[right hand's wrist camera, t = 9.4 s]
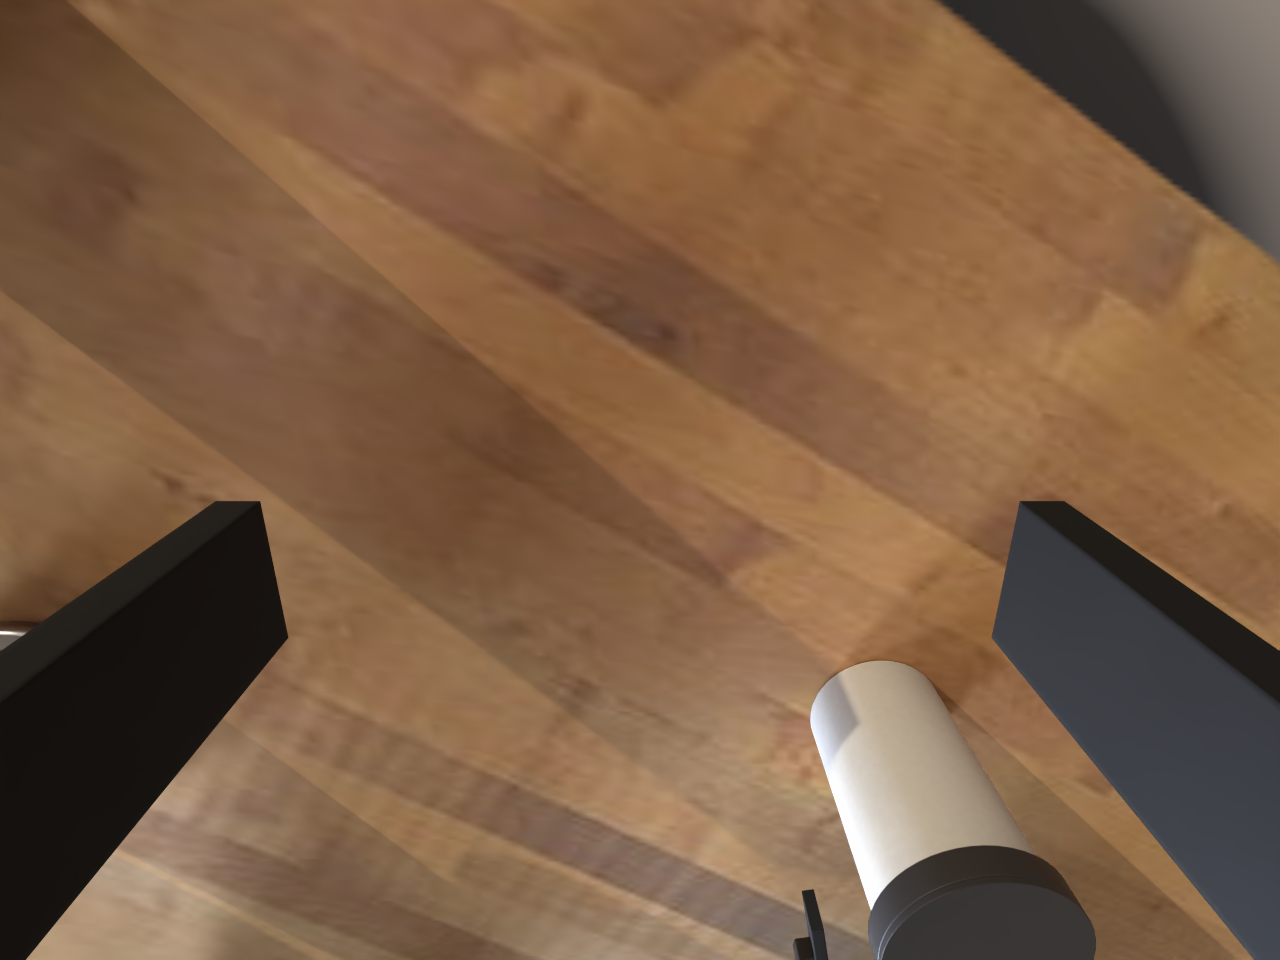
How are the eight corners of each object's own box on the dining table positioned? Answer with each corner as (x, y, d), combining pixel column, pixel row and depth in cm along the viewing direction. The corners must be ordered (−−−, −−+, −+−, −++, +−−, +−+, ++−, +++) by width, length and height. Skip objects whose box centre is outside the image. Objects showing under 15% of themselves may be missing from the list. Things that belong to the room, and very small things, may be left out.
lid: (1111, 918, 33) (1138, 959, 31) (948, 1014, 35) (964, 1056, 34) (992, 810, 31) (1013, 847, 29) (826, 920, 33) (836, 961, 31)
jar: (964, 712, 47) (1115, 949, 32) (864, 783, 49) (962, 1036, 34) (884, 636, 44) (1005, 852, 30) (783, 714, 47) (850, 951, 32)
